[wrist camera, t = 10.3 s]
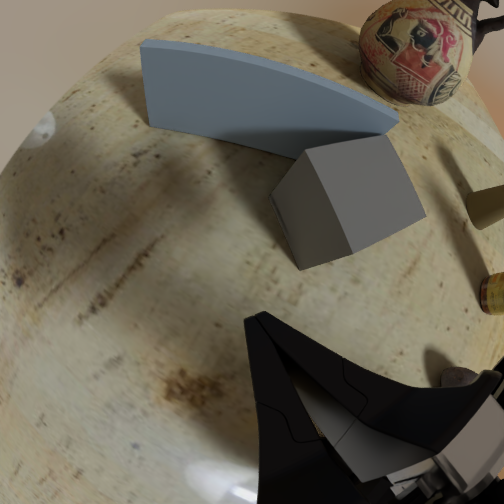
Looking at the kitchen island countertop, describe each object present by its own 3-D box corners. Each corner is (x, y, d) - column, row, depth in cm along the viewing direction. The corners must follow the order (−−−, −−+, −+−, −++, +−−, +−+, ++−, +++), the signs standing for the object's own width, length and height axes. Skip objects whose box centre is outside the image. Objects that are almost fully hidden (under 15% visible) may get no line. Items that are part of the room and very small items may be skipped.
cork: (472, 187, 33) (521, 164, 23) (487, 219, 33) (536, 201, 22) (462, 202, 32) (517, 178, 21) (478, 237, 31) (533, 219, 21)
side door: (338, 173, 26) (399, 121, 17) (149, 126, 23) (139, 46, 13) (339, 165, 26) (397, 112, 17) (153, 118, 23) (145, 39, 14)
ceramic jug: (321, 66, 30) (433, -94, 1) (362, 42, 34) (448, -68, 5) (416, 152, 31) (574, 40, 2) (435, 108, 35) (543, 22, 6)
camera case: (366, 240, 26) (426, 216, 18) (299, 270, 24) (353, 254, 16) (337, 176, 27) (386, 134, 18) (268, 197, 24) (304, 149, 16)
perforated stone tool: (423, 383, 25) (467, 393, 18) (444, 348, 26) (487, 351, 20) (456, 430, 25) (490, 439, 19) (473, 401, 27) (507, 407, 20)
